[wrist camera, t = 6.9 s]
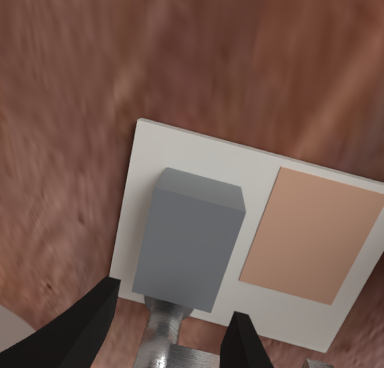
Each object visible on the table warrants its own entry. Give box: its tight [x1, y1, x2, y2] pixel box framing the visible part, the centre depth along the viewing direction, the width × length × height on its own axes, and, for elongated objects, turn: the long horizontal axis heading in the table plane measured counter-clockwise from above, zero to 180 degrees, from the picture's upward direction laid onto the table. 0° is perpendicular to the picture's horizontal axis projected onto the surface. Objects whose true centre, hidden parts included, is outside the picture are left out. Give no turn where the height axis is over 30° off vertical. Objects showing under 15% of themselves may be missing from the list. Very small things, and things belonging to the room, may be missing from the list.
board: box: [109, 118, 384, 353], centre depth 21 cm, size 18×15×1 cm
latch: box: [133, 298, 334, 368], centre depth 18 cm, size 5×12×8 cm, turn 77°
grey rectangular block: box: [132, 167, 246, 313], centre depth 18 cm, size 5×7×4 cm
